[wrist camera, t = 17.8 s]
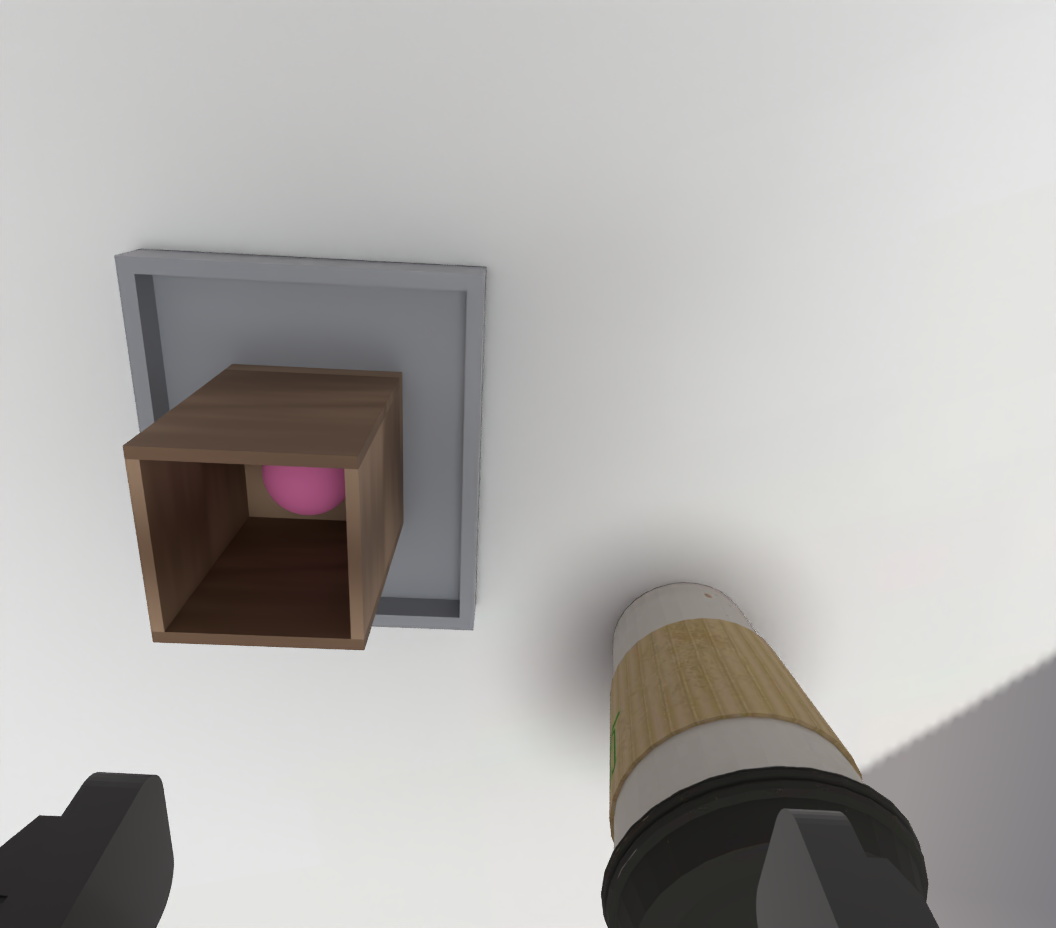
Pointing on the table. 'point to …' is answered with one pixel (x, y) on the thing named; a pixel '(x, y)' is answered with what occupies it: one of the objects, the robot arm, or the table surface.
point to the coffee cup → (717, 766)
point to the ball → (305, 488)
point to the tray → (338, 343)
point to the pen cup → (269, 508)
